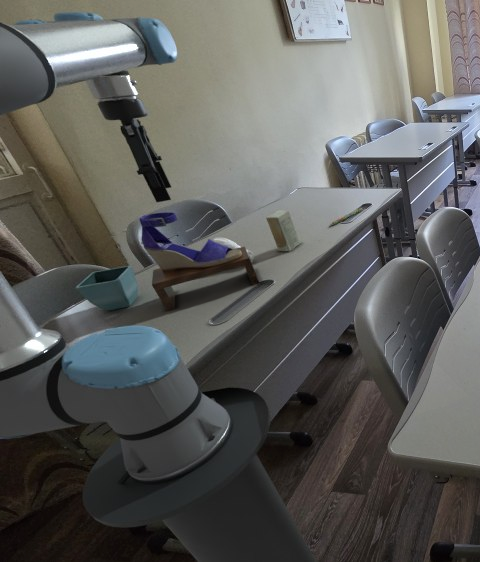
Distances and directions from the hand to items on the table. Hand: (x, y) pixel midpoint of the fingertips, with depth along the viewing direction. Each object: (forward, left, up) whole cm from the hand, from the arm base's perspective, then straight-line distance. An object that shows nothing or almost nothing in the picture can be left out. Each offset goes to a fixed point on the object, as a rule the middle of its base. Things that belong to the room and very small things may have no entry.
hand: (164, 194), depth 97 cm
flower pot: (-21, +9, -28) cm, 36 cm away
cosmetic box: (+23, +17, -28) cm, 40 cm away
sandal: (+1, +3, -20) cm, 20 cm away
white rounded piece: (+9, +14, -24) cm, 30 cm away
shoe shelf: (0, +2, -28) cm, 28 cm away
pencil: (+47, +31, -28) cm, 63 cm away
